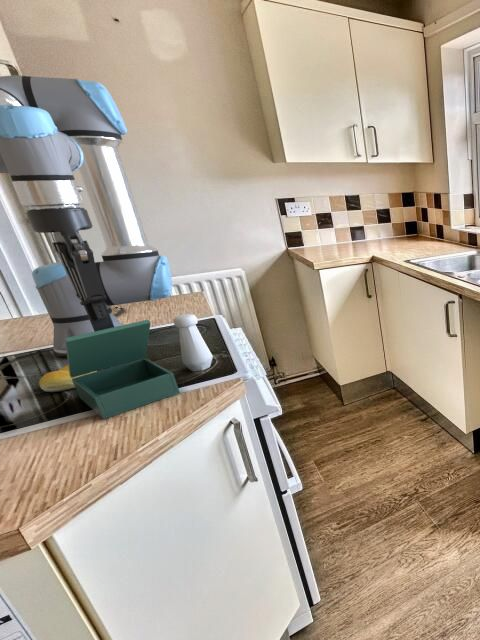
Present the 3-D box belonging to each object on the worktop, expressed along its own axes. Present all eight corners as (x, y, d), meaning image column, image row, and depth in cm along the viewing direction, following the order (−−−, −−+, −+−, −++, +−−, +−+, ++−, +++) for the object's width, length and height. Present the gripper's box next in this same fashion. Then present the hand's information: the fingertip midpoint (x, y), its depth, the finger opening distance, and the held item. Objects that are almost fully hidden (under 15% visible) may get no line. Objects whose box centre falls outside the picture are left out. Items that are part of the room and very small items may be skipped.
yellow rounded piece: (32, 392, 90) (23, 375, 88) (79, 374, 98) (72, 358, 96) (63, 394, 88) (55, 377, 87) (108, 376, 96) (101, 360, 95)
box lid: (150, 322, 84) (148, 319, 84) (66, 341, 74) (64, 338, 74) (145, 357, 94) (143, 354, 94) (71, 378, 84) (69, 374, 84)
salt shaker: (192, 375, 96) (174, 320, 91) (180, 369, 98) (162, 317, 94) (219, 365, 100) (203, 313, 95) (208, 360, 103) (192, 310, 98)
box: (180, 392, 88) (172, 372, 86) (103, 419, 78) (94, 397, 77) (152, 376, 96) (145, 357, 94) (80, 398, 86) (71, 378, 85)
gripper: (95, 206, 72) (142, 334, 81) (74, 205, 79) (120, 324, 88) (32, 209, 67) (91, 347, 75) (16, 208, 73) (71, 335, 82)
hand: (106, 334), depth 81 cm, fingers closed
